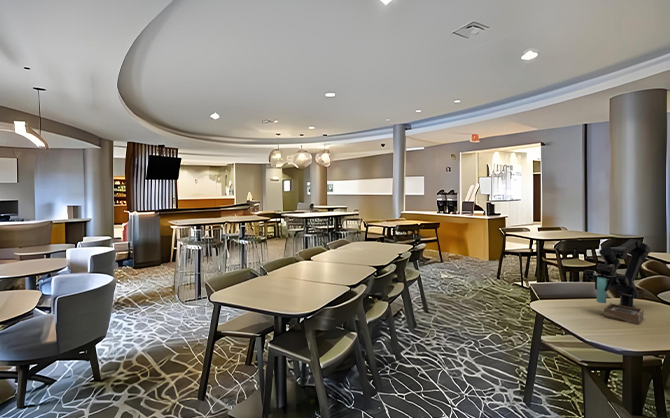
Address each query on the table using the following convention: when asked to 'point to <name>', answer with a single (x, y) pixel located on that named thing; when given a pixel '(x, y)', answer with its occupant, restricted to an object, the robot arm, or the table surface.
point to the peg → (601, 289)
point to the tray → (623, 313)
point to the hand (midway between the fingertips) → (600, 290)
